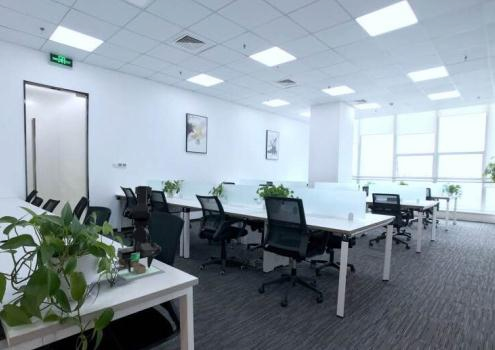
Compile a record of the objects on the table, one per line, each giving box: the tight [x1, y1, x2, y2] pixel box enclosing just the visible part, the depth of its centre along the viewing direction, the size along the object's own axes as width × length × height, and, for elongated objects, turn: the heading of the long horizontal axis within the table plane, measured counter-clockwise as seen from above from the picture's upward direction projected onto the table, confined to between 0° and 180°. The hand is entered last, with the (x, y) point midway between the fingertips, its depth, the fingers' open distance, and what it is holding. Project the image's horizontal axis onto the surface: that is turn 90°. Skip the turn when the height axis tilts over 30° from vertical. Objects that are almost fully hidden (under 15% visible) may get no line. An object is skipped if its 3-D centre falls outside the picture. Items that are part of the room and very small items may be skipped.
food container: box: [116, 245, 140, 269], centre depth 138 cm, size 12×6×10 cm, turn 143°
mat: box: [115, 264, 166, 284], centre depth 129 cm, size 13×20×1 cm, turn 137°
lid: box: [116, 262, 162, 281], centre depth 129 cm, size 10×16×4 cm, turn 137°
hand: (139, 270), depth 129 cm, fingers open, 9 cm apart
